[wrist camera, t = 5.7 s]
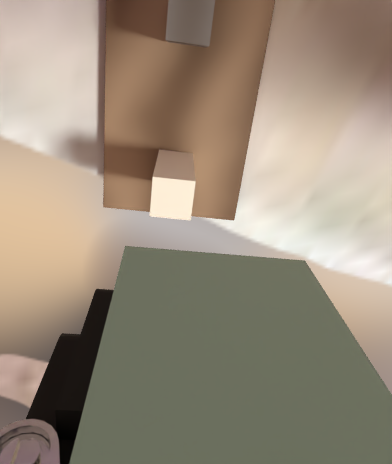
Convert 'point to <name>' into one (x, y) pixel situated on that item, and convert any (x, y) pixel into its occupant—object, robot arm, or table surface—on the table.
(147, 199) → the walnut board
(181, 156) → the cream post
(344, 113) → the table surface
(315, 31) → the table surface
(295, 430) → the mint green cube
